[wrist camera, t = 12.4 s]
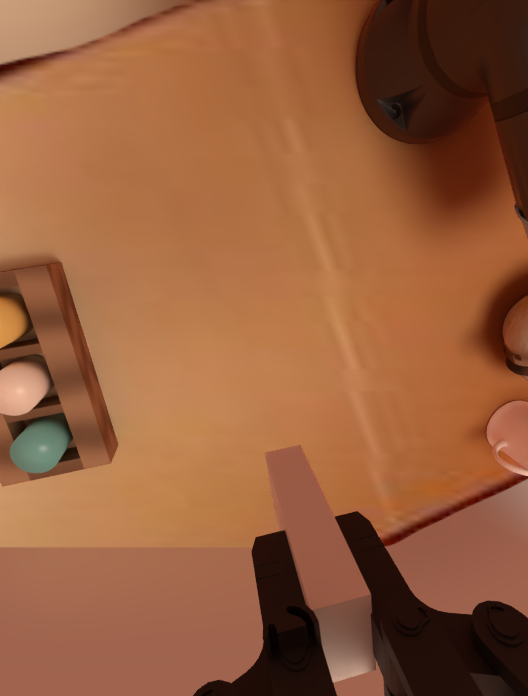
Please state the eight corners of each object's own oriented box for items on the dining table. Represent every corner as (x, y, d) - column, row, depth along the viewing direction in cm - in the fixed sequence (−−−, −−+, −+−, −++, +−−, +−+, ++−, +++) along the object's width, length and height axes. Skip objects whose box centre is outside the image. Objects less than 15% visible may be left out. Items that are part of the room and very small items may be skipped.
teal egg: (25, 416, 42) (2, 438, 37) (68, 407, 42) (51, 429, 37) (39, 451, 43) (19, 477, 38) (80, 442, 44) (65, 467, 39)
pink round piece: (3, 359, 39) (-25, 376, 35) (48, 351, 40) (28, 366, 35) (18, 399, 41) (-6, 420, 36) (62, 390, 41) (44, 410, 37)
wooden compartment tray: (-59, 280, 37) (-88, 285, 34) (61, 262, 39) (45, 265, 35) (19, 465, 45) (2, 486, 41) (118, 444, 46) (110, 463, 42)
